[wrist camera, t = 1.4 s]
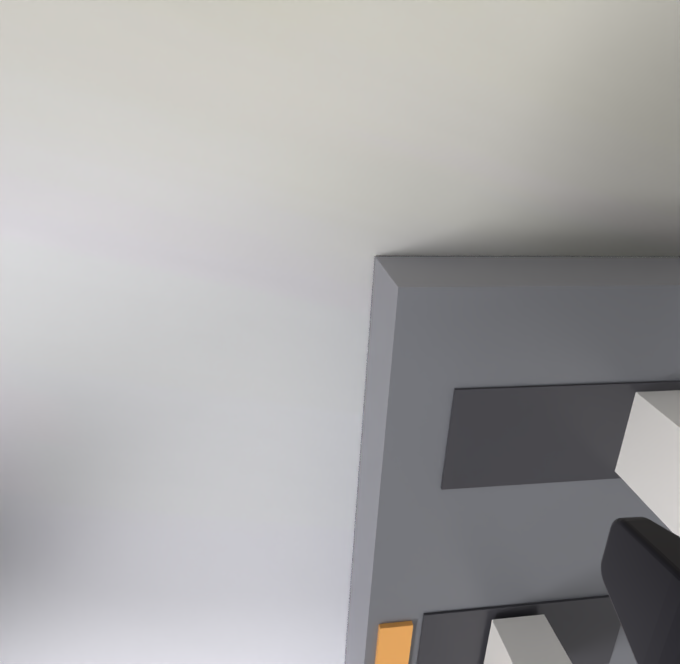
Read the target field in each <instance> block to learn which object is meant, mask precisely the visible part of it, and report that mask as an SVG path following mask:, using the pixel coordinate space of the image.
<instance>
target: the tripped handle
mask: <svg viewBox="0 0 680 664" xmlns="http://www.w3.org/2000/svg"><path fill="white" fill-rule="evenodd" d="M484 664H572V662H571V661H570V659H569V657H568V655H567V654H566V652H565V650H564V648H563V647H562V645H561V643H560V641H559V640H558V638H557V636H556V634H555V633H554V631H553V629H552V627H551V626H550V624H549V622H548V620H547V619H546V617H545V615H544V614H542V615H532V616H522V617H513V618H503V619H493V620H492V623H491V628H490V633H489V638H488V643H487V648H486V654H485V659H484Z"/></svg>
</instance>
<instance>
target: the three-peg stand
mask: <svg viewBox="0 0 680 664" xmlns="http://www.w3.org/2000/svg"><path fill="white" fill-rule="evenodd" d="M625 517H645V518H648V519H650V520H652V521H653V522H655V523H657V524H659V525H660V526H662V527H664V528H665V529H667V530H669V531H671V532H672V533H674V534H676V535H678V536H679V537H680V257H569V256H375V260H374V274H373V287H372V301H371V314H370V328H369V342H368V355H367V369H366V382H365V396H364V409H363V423H362V436H361V450H360V463H359V477H358V490H357V504H356V517H355V531H354V544H353V558H352V571H351V585H350V598H349V612H348V625H347V639H346V652H345V664H484V659H485V654H486V648H487V643H488V638H489V633H490V628H491V623H492V620H493V619H503V618H513V617H522V616H532V615H542V614H544V615H545V617H546V619H547V620H548V622H549V624H550V626H551V627H552V629H553V631H554V633H555V634H556V636H557V638H558V640H559V641H560V643H561V645H562V647H563V648H564V650H565V652H566V654H567V655H568V657H569V659H570V661H571V662H572V664H637V662H636V660H635V658H634V655H633V653H632V650H631V648H630V645H629V643H628V641H627V638H626V636H625V633H624V631H623V628H622V626H621V624H620V621H619V619H618V616H617V614H616V611H615V609H614V607H613V604H612V602H611V599H610V597H609V594H608V592H607V590H606V587H605V585H604V582H603V579H602V575H601V560H602V557H603V553H604V549H605V545H606V542H607V538H608V534H609V531H610V527H611V524H612V523H613V522H614V521H615V520H616V519H618V518H625Z"/></svg>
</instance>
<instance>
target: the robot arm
mask: <svg viewBox="0 0 680 664" xmlns="http://www.w3.org/2000/svg"><path fill="white" fill-rule="evenodd" d="M601 575H602V579H603V582H604V585H605V587H606V590H607V592H608V594H609V597H610V599H611V602H612V604H613V607H614V609H615V611H616V614H617V616H618V619H619V621H620V624H621V626H622V628H623V631H624V633H625V636H626V638H627V641H628V643H629V645H630V648H631V650H632V653H633V655H634V658H635V660H636V662H637V664H680V537H679V536H678V535H676V534H674V533H672V532H671V531H669V530H667V529H665V528H664V527H662V526H660V525H659V524H657V523H655V522H653V521H652V520H650V519H648V518H645V517H625V518H618V519H616V520H615V521H614V522H613V523H612V524H611V527H610V531H609V534H608V538H607V542H606V545H605V549H604V553H603V557H602V560H601Z"/></svg>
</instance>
